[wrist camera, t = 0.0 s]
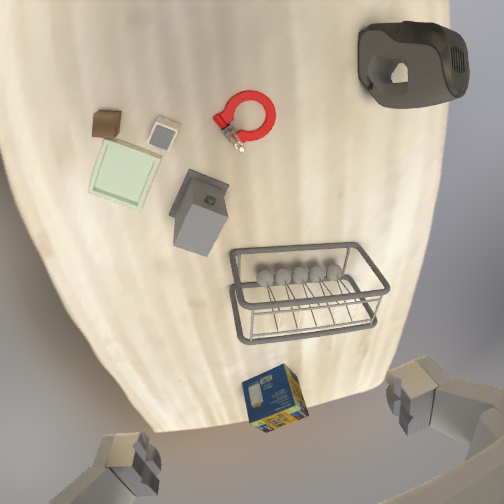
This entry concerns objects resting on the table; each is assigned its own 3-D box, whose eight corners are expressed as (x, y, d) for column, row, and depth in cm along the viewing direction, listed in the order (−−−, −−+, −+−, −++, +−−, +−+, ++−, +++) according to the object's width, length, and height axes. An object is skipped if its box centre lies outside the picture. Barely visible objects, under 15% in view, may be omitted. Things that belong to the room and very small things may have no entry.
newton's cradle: (358, 241, 73) (394, 290, 58) (349, 276, 79) (379, 327, 64) (228, 248, 68) (239, 307, 54) (228, 287, 74) (239, 347, 59)
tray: (107, 135, 50) (104, 138, 49) (161, 156, 55) (160, 159, 53) (90, 188, 55) (87, 192, 53) (141, 206, 59) (140, 211, 57)
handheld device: (385, 29, 46) (480, 35, 26) (379, 102, 55) (467, 139, 34) (357, 23, 45) (449, 20, 25) (352, 98, 54) (437, 133, 33)
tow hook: (255, 80, 50) (208, 113, 52) (278, 86, 39) (217, 128, 40) (283, 120, 55) (238, 152, 57) (312, 138, 44) (254, 177, 45)
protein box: (297, 376, 100) (310, 415, 88) (256, 394, 103) (265, 433, 90) (284, 362, 94) (296, 405, 82) (240, 382, 97) (248, 424, 84)
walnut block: (100, 109, 48) (93, 113, 44) (121, 111, 49) (116, 115, 45) (97, 131, 50) (91, 136, 46) (119, 133, 51) (114, 138, 47)
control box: (189, 168, 57) (189, 195, 47) (228, 184, 60) (236, 214, 50) (169, 214, 61) (165, 248, 51) (206, 227, 64) (210, 263, 55)
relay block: (159, 115, 50) (155, 122, 46) (180, 124, 52) (178, 131, 47) (150, 136, 52) (145, 145, 47) (170, 144, 54) (168, 153, 49)
